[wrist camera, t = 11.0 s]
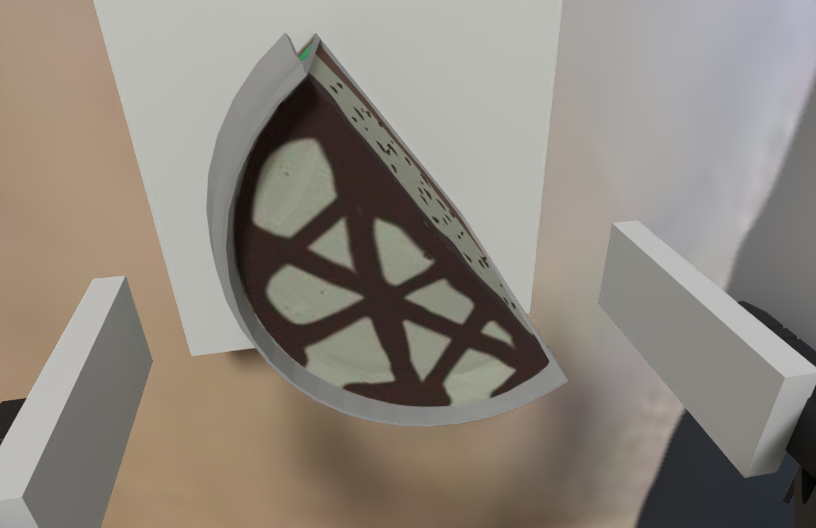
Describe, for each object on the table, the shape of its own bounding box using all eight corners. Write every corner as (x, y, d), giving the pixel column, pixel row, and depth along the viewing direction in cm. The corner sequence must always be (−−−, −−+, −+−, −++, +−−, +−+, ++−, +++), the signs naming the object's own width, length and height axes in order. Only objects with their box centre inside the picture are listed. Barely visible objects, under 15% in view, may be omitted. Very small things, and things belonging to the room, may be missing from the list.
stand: (503, 271, 32) (529, 312, 28) (202, 306, 29) (191, 356, 26) (528, -64, 23) (569, -63, 20) (113, -52, 21) (80, -48, 18)
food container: (157, 112, 20) (64, 243, 12) (286, -5, 19) (285, 48, 11) (373, 316, 27) (413, 499, 18) (480, 236, 25) (577, 391, 17)
